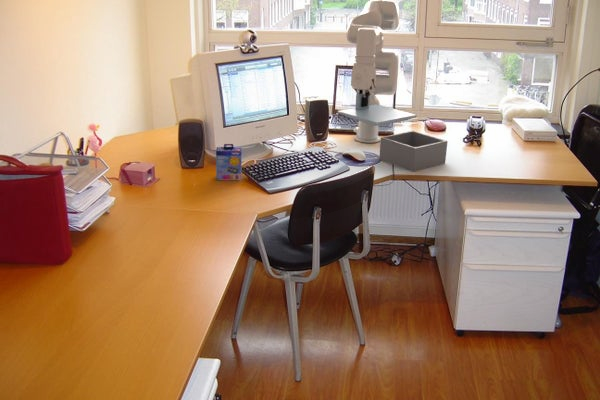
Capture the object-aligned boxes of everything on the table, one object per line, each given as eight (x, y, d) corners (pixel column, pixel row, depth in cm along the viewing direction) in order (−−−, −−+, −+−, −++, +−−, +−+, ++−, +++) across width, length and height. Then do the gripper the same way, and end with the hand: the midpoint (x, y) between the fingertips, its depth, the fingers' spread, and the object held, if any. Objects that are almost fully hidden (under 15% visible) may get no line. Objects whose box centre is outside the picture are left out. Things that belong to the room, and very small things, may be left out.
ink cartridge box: (216, 180, 259) (215, 144, 254) (216, 176, 264) (215, 140, 259) (241, 180, 260) (241, 144, 254) (241, 176, 265) (241, 140, 260)
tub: (379, 159, 290) (380, 137, 286) (410, 152, 301) (412, 130, 298) (413, 171, 275) (415, 148, 271) (445, 163, 287) (447, 140, 283)
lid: (337, 116, 266) (338, 96, 263) (376, 109, 279) (378, 90, 276) (376, 128, 250) (377, 106, 247) (416, 120, 263) (418, 99, 260)
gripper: (344, 58, 266) (342, 103, 273) (372, 63, 255) (369, 111, 261) (358, 56, 270) (355, 101, 277) (386, 62, 259) (382, 108, 266)
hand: (362, 105), depth 269 cm, fingers closed on lid, 1 cm apart
